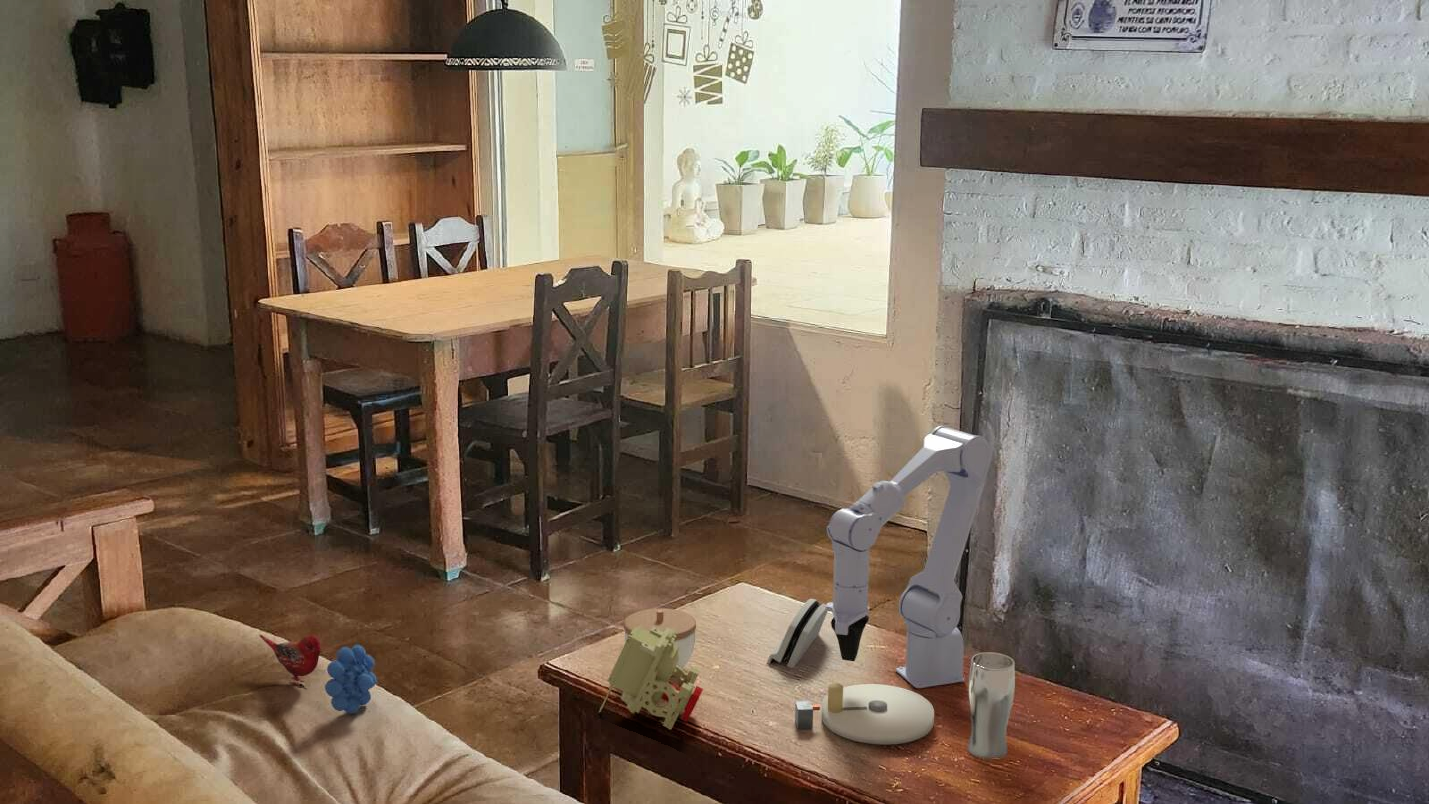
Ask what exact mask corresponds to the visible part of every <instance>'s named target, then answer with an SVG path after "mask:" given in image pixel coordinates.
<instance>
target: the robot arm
mask: <svg viewBox="0 0 1429 804" xmlns="http://www.w3.org/2000/svg"><path fill="white" fill-rule="evenodd" d="M993 455H994V453H993V451H992V449H991V446H990V444H989V442H988V440H987V439H986V438H985V437H983V436H981V435H975V434H971V433H968V432H964V431H962V430H961V431H960V430H957V429H954V428H950V427H949V426H946V425H939V426H937V427H935V428H933V430H932V431H931V432H930V433H929V434H928V435H926V436H924V439H923V443H922V447H921V449H919V451H918V452H917V453H916V454H915V455H914V456H913V457H912V458H911V459H910V460H909V461H908V463H906V465H904V467H902V469H901V470H900V471H899V472H897V474H896V475H894V477H893V478H892V479H891V480H890V481H889V480H888V481H887V480H879V481H877V482H875V483H873V484H872V485H871V488H870V489H869V490H868V491H867V492H866V493H865V494H863V496H861V497H860V498H858V499H857V500H856V501H855V502H854V503H853V504H852V505H851V506H850V507H849V508H847V507H846V508H841V509H839V510H837V511H835V513H834V514H832V516H831V518H830V520H829V521H828V522H829V523H828V526H826V534H827V536H828V538H829V539H830V541H831V549H832V550H833V591H832V592H833V594H832V595H833V596H832V599H833V600H832V601H831V602H827V603H826V604H825V605H826V610H828V612H831V613H832V615H833V617H832V619H831V621H830V626H831V629H832V630H833V632H834V634H835V636H836V638H837V642H838V645H839V646H838V647H839V651H840V656H841V659H842V661H849V662H850V661H851V662H855V661H856V660H857V656H858V652H859V648H860V643H861V639H862V636H863V633H864V629H865V627H866V625H867V623H868V622H869V619H870V617H869V615H868V614H870V606H869V585H870V584H869V578H870V577H869V576H870V575H869V574H870V548H872V547H873V546H874V545H875V543H876V541H877V540H878V536H879V534H880V532H881V531H882V528H883V526H885V524H887V522H889V520H890V519H891V518H893V517H894V516H895V515H896V514H897V513H899V511H901V510H902V509H903V508H904V506H905V497H906V496H907V495H908V494H910V493H911V492H913V491H914V490H916V488H918V487H920V485H922V484H923V483H924V482H926V481H927V480H929V479H930V478H931V477H932V476H933V475H934V474H936V473H938V472H943V473H944V474H945V477H946V478H947V480H948V482H949V485H950V486H949V490H948V492H947V495H946V499H945V502H944V505H943V509H942V512H941V514H940V518H939V521H938V524H937V528H936V530H935V533H934V537H933V541H932V543H931V546H930V550H929V553H928V556H927V559H926V563H925V566H924V569H923V570H922V571H921V572H919V573H917V574H915V575H912V576H911V577H910V579H909V581H908V584H907V586H906V588H905V590H904V591H903V592H902V594H901V595H900V598H899V601H898V611H899V615H900V616H901V618H903V619H904V625H905V626H906V629H907V630H906V649H905V650H906V653H905V666H901V667H897V668H895V672H896V673H898V674H899V675H900V676H901V677H903V679H905V680H906V681H907V682H909V683H910V684H911V685H912V686H913V687H914V688H915V689H923V688H929V687H935V686H942V685H947V684H950V685H951V684H954V683H962V682H964V681H965V678H964V677H963V672H964V671H963V667H964V653H965V652H964V651H965V650H964V647H965V644H964V639H963V635H962V632H961V631H960V630H959V628H958V627H957V626H958V624H959V622H960V618H961V604H962V600H963V595H962V592H961V591H960V589H959V587H958V585H957V584H956V582H955V579H956V575H957V572H958V569H959V566H960V564H961V560H962V557H963V554H964V550H965V547H966V545H967V541H968V537H969V534H970V532H971V529H972V525H973V522H974V519H975V517H976V516H975V515H976V513H977V510H978V506H979V503H980V500H981V497H982V493H983V491H984V487H985V483H986V477H987V473H988V471H989V467H990V465H991V461H992V458H993Z"/></svg>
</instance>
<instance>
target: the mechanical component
mask: <svg viewBox="0 0 1429 804" xmlns="http://www.w3.org/2000/svg"><path fill="white" fill-rule="evenodd" d="M674 632H675V630H674V629H672V628H671V629H670V628H668V627H667V628H666V630H665V631H664V632H662V631H660V630H658V629H656V628H654V627H652V629H651V630H650V632H648V631H646V630H644V629H641V627H639V626H638V627H634V629H633V630H632V632H631V633H630V635H629V636H628V638H627V641H626V643H624V645H623V647H622V649H621V651H620V653H619V656H618V658H617V660H616V662H615V664H614V666H613V668H612V670H611V673H610V675H609V677H608V678H607V682H609V683H608V684H609V688H608V692H607V694H606V695H605V697H604V700H603V702H602V704H601V706H600V707H599V711H598V713H601V712H602V710H603V707H604V706H605V703H606V701H607V699H608V697H609V696H610V692H611V691H612V689H613V688H617V689H618V690H620V691H621V692H622V694H621V696H620V699H621V701H623V702H624V703H625V704H627V705H626V709H628V710H629V712H630V713H632V714H635V713H640V711H641V709H642V708H645V710H646V711H648V712H649V713H650V714H651V715H653V716H655V717H659V718H660V717H661V718H665V719H664V722H663V724H662V726H663V727H665V728H667V729H668V730H670V731H671V730H672V729H673V727H674V725H675V722H676V721H677V719H678V717H679V715H680V720H682V721H683V722H686V723H688V721H689V719H690V717H691V715H692V713H693V711H694V709H695V707H696V704H697V702H699V699H700V697H701V695H702V692H703V691H704V688H702V687H700V686H698V685H696V687H695V686H694V684H695V682H696V680H697V679H698V676H699V674H700V672H701V670H699V669H696V668H694V667H693V666H691V667H690V669H689V671H688V672H686V671H685V669H683V668H681V667H679V666H678V665H677V663H678V661H679V656H678V654H677V653H678V648H679V647H678V646H676V645H674V644H673V643H674V640H675V638H676V635H674ZM675 669H676V670H675ZM672 674H673V675H675V676H674V677H676V679H677V681H678V682H677V685H676V684H675V683H673V682H671V681H670V679H671V678H672V677H671V675H672ZM661 699H662V700H663V701H666V702H667V704H666V705H659V704H658V703H659V701H660V700H661ZM665 711H666V712H665Z"/></svg>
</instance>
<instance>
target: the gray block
mask: <svg viewBox="0 0 1429 804" xmlns="http://www.w3.org/2000/svg"><path fill="white" fill-rule="evenodd" d="M794 708H795V709H794V711H795V714H794V722H795V725H796V730H798V731H801V730H802V731H803V730H804V731H805V730H810V731H811V730H813V726H814V725H813V724H814V723H813V722H814V711H820V710H821V706H820V705H819V704H818V705H817V704H814V705H812V702H811V700H798V701H797V700H795V706H794Z"/></svg>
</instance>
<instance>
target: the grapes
mask: <svg viewBox="0 0 1429 804" xmlns="http://www.w3.org/2000/svg"><path fill="white" fill-rule="evenodd" d="M336 658H337V660H332V661H331V662H329V664H328V665H327V668H326V669H327V670H326V671H327V673H328V676H329V677H330V678H331V679H329V680H327V681H326V683H325V685H324V689H325V692H326V694H327V696H330V697H331V700H330V702H331V705H332V706H331V707H332V708H333V709H334V711H337V712H342V711H345V713H346V714H349V715H353V714H356V713H358V711H359V709H360V708H361V706H366V705H367V704H369V702H370V701H371V700H372V696H371V695H372V694H371V692H370V690H371V689H372V688H373V687H375V686H376V684H377V681H378V680H377V677H376V675H375V673H374V672H372V670H373V669H374V667H375V665H376V662H375V659H374V658H373V656H372V655H370V654H368V653H367V652H366V650H365V647H364V646H362V645H361V644H354V645H353V646H352V647H348V646H343V647H341V648H340V649H338V651H337V653H336Z"/></svg>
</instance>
